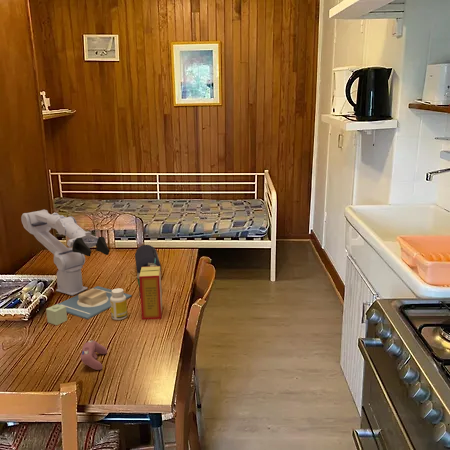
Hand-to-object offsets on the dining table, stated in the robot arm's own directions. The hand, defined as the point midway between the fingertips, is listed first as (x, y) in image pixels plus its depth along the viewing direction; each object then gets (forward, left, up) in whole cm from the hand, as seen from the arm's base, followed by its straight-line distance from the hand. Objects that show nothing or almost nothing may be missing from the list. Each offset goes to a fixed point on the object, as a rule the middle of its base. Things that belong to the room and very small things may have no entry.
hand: (99, 253), depth 165 cm
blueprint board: (-6, 0, -20) cm, 21 cm away
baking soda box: (+19, +4, -20) cm, 28 cm away
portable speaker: (-8, +34, -20) cm, 41 cm away
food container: (+7, +18, -20) cm, 28 cm away
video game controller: (+25, -29, -20) cm, 43 cm away
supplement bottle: (+11, -4, -20) cm, 24 cm away
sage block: (-5, -17, -20) cm, 27 cm away
